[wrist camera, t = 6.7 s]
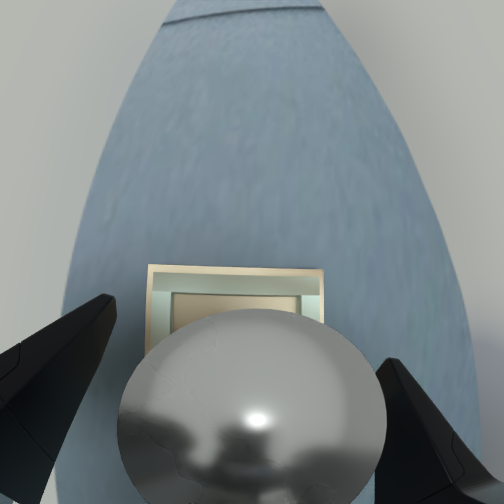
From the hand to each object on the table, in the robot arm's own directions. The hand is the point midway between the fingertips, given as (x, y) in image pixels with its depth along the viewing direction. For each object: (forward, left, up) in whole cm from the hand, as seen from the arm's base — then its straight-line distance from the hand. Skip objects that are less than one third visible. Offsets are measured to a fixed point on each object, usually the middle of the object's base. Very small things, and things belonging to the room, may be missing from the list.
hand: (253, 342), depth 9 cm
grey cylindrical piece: (-1, 0, -8) cm, 8 cm away
